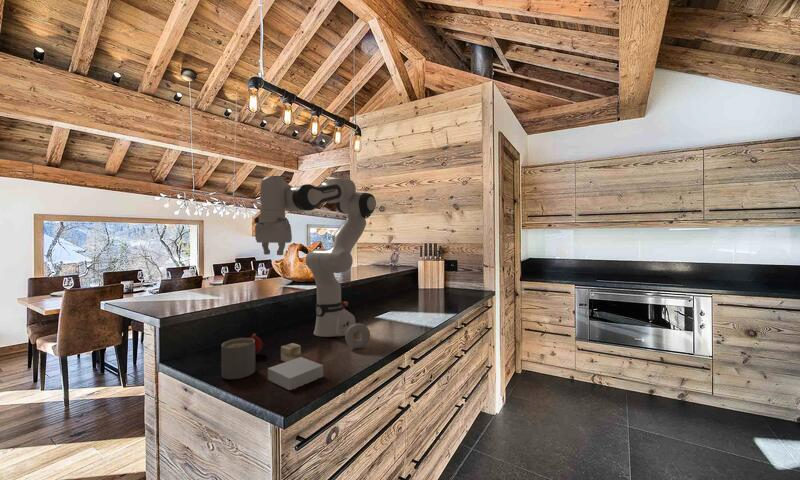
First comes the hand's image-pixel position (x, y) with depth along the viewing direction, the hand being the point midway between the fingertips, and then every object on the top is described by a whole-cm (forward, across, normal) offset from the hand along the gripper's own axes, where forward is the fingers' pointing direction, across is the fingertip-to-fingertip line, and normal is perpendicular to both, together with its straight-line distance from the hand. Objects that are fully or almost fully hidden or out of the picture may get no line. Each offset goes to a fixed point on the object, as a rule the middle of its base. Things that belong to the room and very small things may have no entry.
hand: (273, 254), depth 123 cm
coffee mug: (+38, -5, +15) cm, 41 cm away
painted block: (+38, -25, +7) cm, 46 cm away
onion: (+38, +5, +6) cm, 39 cm away
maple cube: (+38, -10, -1) cm, 39 cm away
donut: (+38, -21, -24) cm, 49 cm away
